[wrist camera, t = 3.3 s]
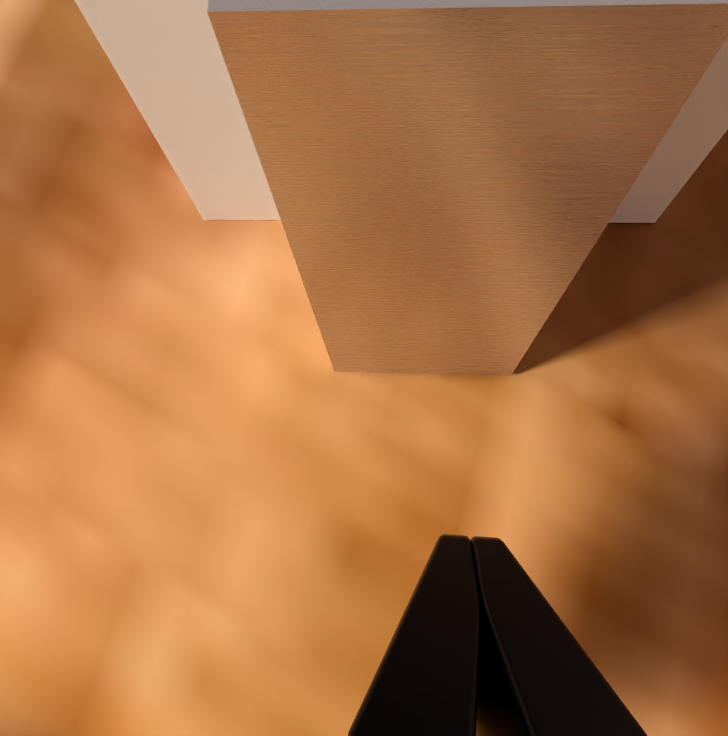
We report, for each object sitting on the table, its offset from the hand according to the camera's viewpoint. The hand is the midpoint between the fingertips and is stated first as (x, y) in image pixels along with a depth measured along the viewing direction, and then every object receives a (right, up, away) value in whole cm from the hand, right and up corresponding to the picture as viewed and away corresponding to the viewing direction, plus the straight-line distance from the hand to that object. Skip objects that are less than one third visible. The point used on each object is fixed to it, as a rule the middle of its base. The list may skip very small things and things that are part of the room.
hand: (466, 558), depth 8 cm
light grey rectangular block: (0, +7, +10) cm, 13 cm away
